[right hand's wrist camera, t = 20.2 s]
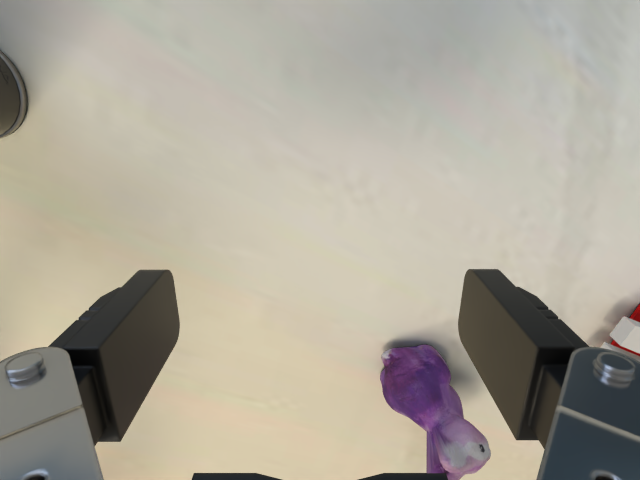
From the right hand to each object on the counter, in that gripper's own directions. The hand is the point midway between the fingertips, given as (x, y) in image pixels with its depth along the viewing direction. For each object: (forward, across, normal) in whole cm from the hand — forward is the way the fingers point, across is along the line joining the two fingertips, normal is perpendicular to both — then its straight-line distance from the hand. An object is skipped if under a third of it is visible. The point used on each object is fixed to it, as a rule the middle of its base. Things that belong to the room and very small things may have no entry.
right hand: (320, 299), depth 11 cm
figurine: (+32, +13, -28) cm, 44 cm away
